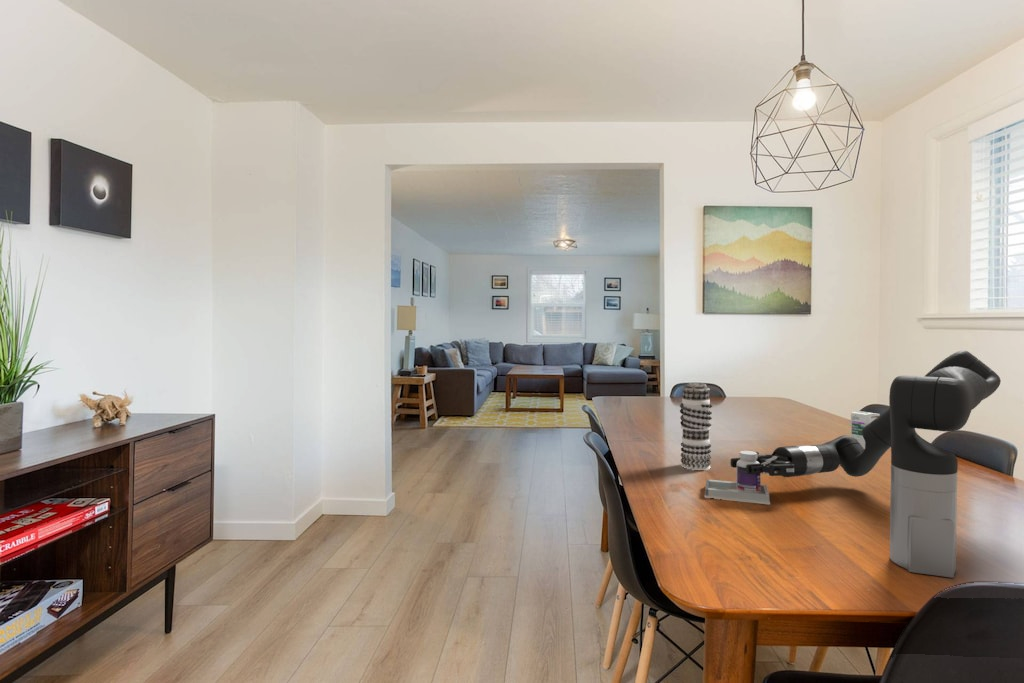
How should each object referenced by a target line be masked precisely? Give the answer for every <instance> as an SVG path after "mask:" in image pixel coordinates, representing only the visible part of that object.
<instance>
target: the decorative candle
mask: <svg viewBox="0 0 1024 683" xmlns="http://www.w3.org/2000/svg"><path fill="white" fill-rule="evenodd" d="M681 390H682V397H681V403H680V404H679V407H680V410H679V412H680V414H681V415H680V420H681V421H680V423H679V424H680V428H681V429H682V436H681V443H680V445H681V448H680V451H681V453H680V458H681V459H680V462H681V464H680V467H681V466H682V467H684V468H687V469H686V470H688V469H692V470H691V471H694V470H706V471H709V470H711V469H710V468H711V464H712V462H711V459H712V456H711V454H710V453H711V452H712V451H711V449H710V448H711V447H712V444H710V443H711V438H710V430H712V428H711V426H712V424H711V423H710V422H709V421H711V420H712V419H713V417H712V416H711V415H712V411H711V410H710V409H711V408H712V407H713V404H711V402H710V401H711V400H710V390H711V388H709V387H708V386H707V384H706V383H703V382H687V383H686V384H684V386H683V387H682V388H681ZM682 467H681V468H682ZM684 468H683V469H684Z"/></svg>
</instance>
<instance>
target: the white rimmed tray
mask: <svg viewBox="0 0 1024 683" xmlns="http://www.w3.org/2000/svg"><path fill="white" fill-rule="evenodd" d="M760 487H761V489H760V493H758V494H757V493H747V492H739V491H738V490H737V481H729V480H720V479H719V480H716V479H709V478H708V479H707V478H706V480H705V488H704V498H705V499H710V498H714V499H713V500H720V499H722V500H723V501H730V502H731V501H732V502H741V503H750V504H757V505H758V504H760V505H762V504H763V505H768V506H770V505H771V501H770V492H769V489H768V485H767V484H761V483H760ZM722 500H721V501H722Z"/></svg>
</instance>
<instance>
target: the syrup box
mask: <svg viewBox="0 0 1024 683" xmlns="http://www.w3.org/2000/svg"><path fill="white" fill-rule="evenodd" d="M880 415H881V414H880V413H875V412H874V413H873V412H868V411H862V410H861V411H860V410H859V411H852V412H851V413H850V436H851V437H854V438H855V439H856V440H857V441H858V442H859V443H860V444H861V446H862V447H863V448H864V449H865V447H866V443H865V440H864V438H863V435H862V429H863V428H864V427H865V426H867V425H868V424H869V423H871V422H872V421H873V420H875V419H876V418H877V417H879V416H880Z"/></svg>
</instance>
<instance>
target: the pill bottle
mask: <svg viewBox="0 0 1024 683" xmlns="http://www.w3.org/2000/svg"><path fill="white" fill-rule="evenodd" d="M756 452H757V451H752V450H751V451H750V450H741V451H739V456H738V457H739V458H741V459H740V460H738V461H737V467H736V482H737V490H738V491H739V492H747V493H757V494H758V493H760V489H761V487H760V484H761V473H757V474H748V473H746V465H748V464H758V463H759V462H758V461H756V459H757V453H756Z"/></svg>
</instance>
